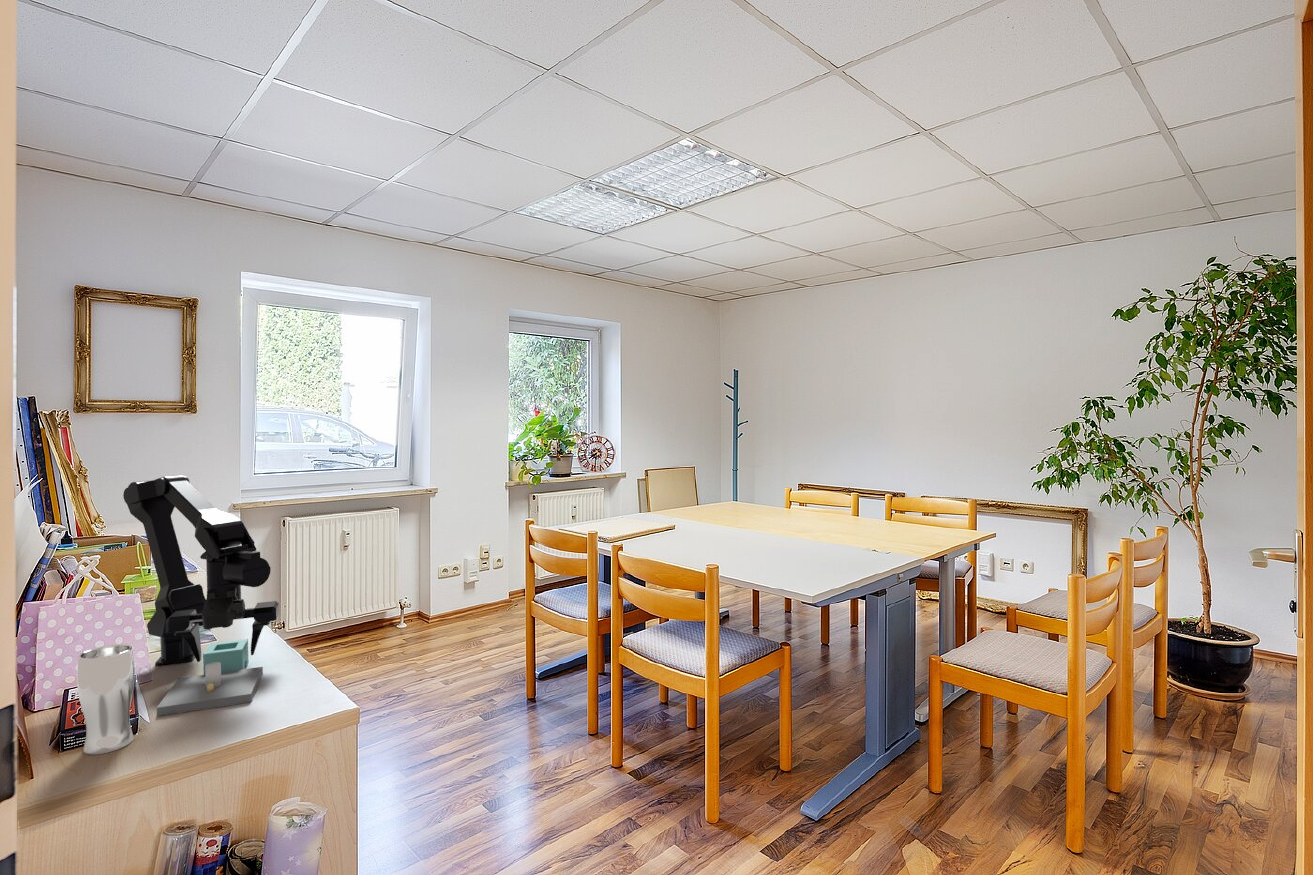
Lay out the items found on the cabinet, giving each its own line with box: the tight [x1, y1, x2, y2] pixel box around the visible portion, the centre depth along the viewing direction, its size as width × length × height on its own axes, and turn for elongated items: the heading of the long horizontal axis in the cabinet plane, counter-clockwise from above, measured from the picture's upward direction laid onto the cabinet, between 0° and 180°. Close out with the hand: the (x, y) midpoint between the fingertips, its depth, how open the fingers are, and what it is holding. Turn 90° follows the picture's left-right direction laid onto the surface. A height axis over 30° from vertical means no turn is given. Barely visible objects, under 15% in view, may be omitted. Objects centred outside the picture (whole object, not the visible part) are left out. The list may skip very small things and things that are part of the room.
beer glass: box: [76, 643, 136, 756], centre depth 104 cm, size 7×7×15 cm
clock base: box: [156, 662, 264, 717], centre depth 123 cm, size 14×14×6 cm
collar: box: [202, 638, 249, 675], centre depth 134 cm, size 7×7×5 cm
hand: (226, 657), depth 134 cm, fingers open, 9 cm apart
